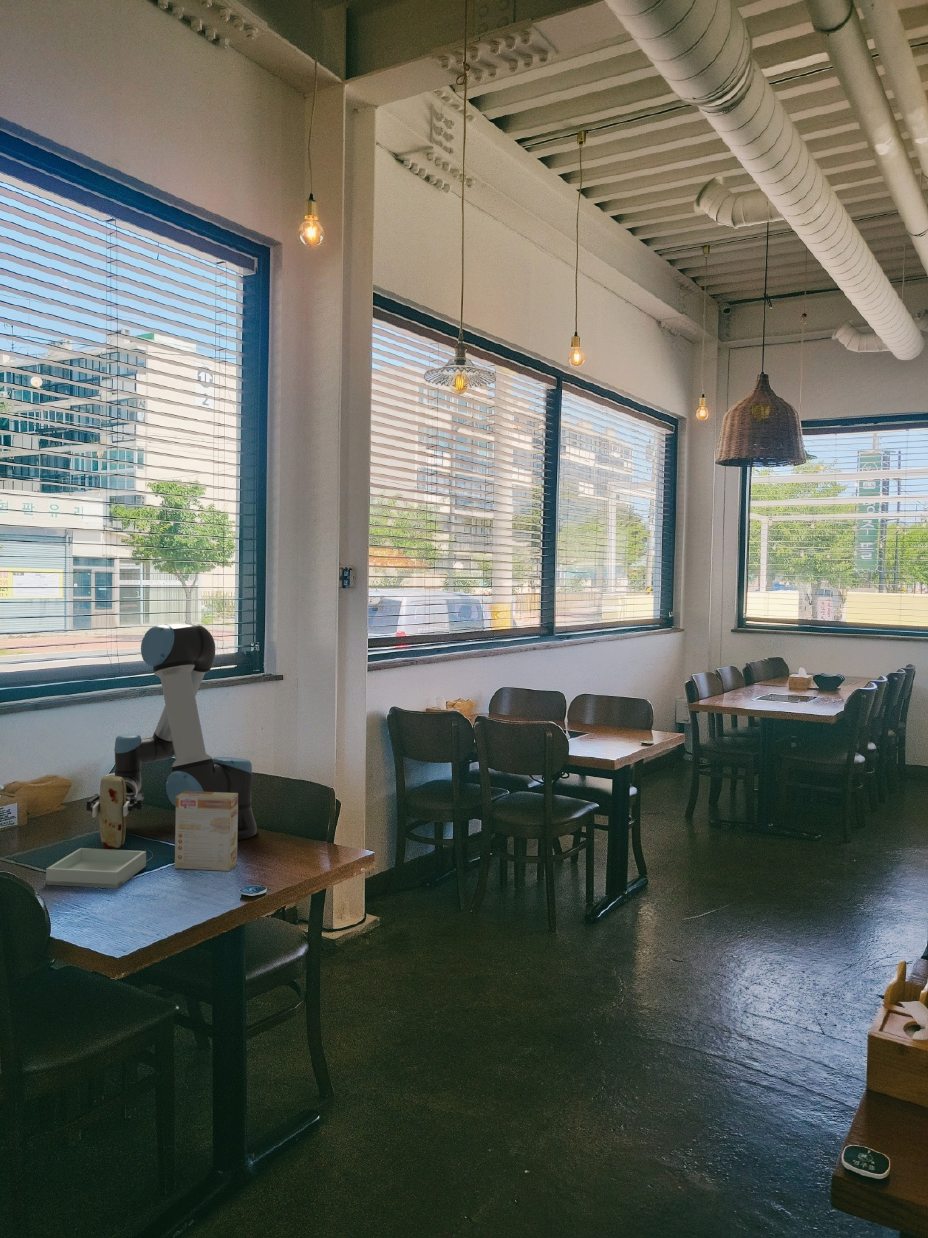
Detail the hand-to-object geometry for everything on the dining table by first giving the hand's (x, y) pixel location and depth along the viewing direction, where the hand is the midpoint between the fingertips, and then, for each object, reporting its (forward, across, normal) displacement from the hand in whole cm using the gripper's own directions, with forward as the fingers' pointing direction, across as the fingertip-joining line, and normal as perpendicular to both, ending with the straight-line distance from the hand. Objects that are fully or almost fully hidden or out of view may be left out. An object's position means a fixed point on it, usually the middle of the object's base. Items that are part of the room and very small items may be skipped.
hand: (109, 812), depth 254 cm
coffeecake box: (+9, -26, -13) cm, 31 cm away
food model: (-5, 0, -11) cm, 12 cm away
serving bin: (+14, 0, -13) cm, 19 cm away
